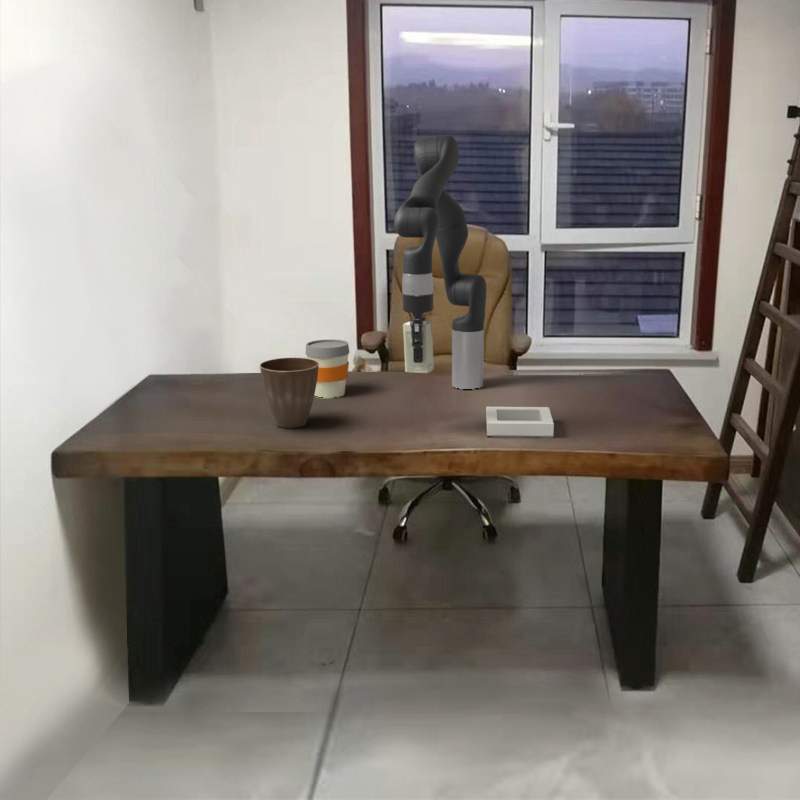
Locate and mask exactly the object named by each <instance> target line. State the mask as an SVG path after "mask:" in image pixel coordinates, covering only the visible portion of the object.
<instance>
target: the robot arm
mask: <svg viewBox="0 0 800 800" xmlns="http://www.w3.org/2000/svg"><path fill="white" fill-rule="evenodd" d="M459 152H460V151H459V146H458V142H457V140H456V138H455V137H454V136H452V135H451V134H445V135H442V134H441V135H435V136H426V137H422V138H418V139H417V140H416V141H415V143H414V146H413V153H414V155H413V156H414V160H415V161H414V162H415V165H416V167H417V172H418V174H419V176H420V177H419V178H418V179H417V181H416V182H415V183H414V185H413V187H412V190H411V193H410V195H409V197H408V198H407V199H406V200H405V202H403V203H402V204H401V206H399V208H398V209H397V211H396V213H395V216H394V219H393V220H394V221H393V227H394V230H395V232H396V234H398V236H399V237H403V238H406V239H409V238H410V239H411V238H415V239H416V238H419V239H421V238H423V239H422V242H421V244H419V245H417V246H413V247H408V248H406V249H404V250H403V252H402V285H401V286H402V288H401V289H402V292H401V293H402V310H403V312H405V313H410V314H412V317H410V318H409V321H410V326H411V338H412V347H413V360H414V362H415V363H422V361H423V338H424V337H425V332H424V331H423V333H422V327H423V325H422V324H426V322H428V321H427V319H428V318H427V317H426V315H425V313H430V312H432V311H433V310H434V279H433V278H434V277H433V251H434V245H435V242H436V243H437V248H438V252H439V253H438V254H439V257H440V261H441V267H442V274H443V275H442V276H443V283H444V289H445V294H446V298H447V300H448V302H449V303H450V304H451V305H453V306H459V307H460V306H462V307H468V311H467V313H466V314H465V315H462V316H459V317H456V318H454V319H453V320H452V322H451V387H452V386H453V387H452V388H454V387H455V388H454V389H457V388H459V389H458V390H463V389H472V390H476V389H475V388H479V389H481V388H480V387H482V386H483V387H484V347H485V346H484V341H485V340H484V337H485V336H484V333H485V332H484V324H485V319H486V307H487V305H486V304H487V281H486V279H485V277H484V276H483V275H482V274H474V273H472V274H470V273H469V274H468V273H462V272H461V271H460V266H459V259H460V256H461V254H462V252H463V249H464V248H465V246H466V244H467V241H468V236H469V228H468V223H467V219H466V215H465V211H464V210H463V207H462V206H461V205H460V204H459V203H458V201H456V200H455V199H454V197H452V196H451V195H450V193H448V192H447V191H446V189H444V188H445V186H446V185H447V184H448V182H449V180H450V178H451V177H452V175H453V174H454V172H455V170H456V169H457V167H458V164H459V159H460V153H459ZM415 338H420V342H415ZM483 387H482V388H483Z"/></svg>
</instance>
